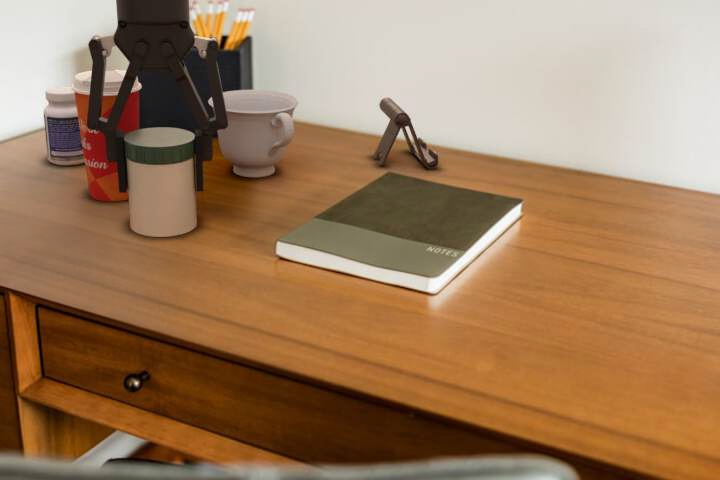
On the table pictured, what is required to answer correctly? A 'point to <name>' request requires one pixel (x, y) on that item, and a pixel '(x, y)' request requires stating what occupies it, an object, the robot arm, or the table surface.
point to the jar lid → (159, 145)
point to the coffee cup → (93, 141)
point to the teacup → (256, 130)
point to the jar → (162, 197)
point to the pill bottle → (62, 127)
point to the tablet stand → (395, 124)
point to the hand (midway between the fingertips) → (162, 187)
